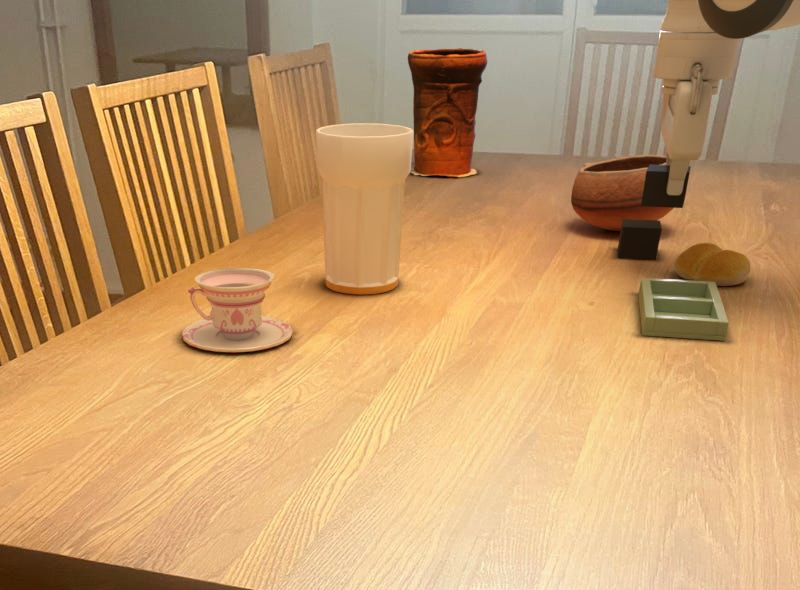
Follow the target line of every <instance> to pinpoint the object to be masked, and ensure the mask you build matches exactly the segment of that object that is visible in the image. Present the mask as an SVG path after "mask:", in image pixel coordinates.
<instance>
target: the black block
mask: <svg viewBox="0 0 800 590" xmlns="http://www.w3.org/2000/svg"><path fill="white" fill-rule="evenodd" d="M662 229H663V228H662V223H661V220H660V219H659V220H636V219H622V225H621V231H619V239H618V244H617V258H618V259H632V260H633V259H634V260H651V261H652V260H653V261H656V260H657V256H658V253H659V252H658V251H659V247H660V241H661V235H662Z"/></svg>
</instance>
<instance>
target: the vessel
mask: <svg viewBox="0 0 800 590" xmlns="http://www.w3.org/2000/svg"><path fill="white" fill-rule="evenodd" d="M407 63H408V67H409V70H410V74H411V75H410V76H411V81H412V86H413V87H412V88H413V98H412V99H413V100H412V101H413V102H412V103H413V104H412V105H413V106H412V107H413V109H412V113H413V114H412V115H413V131H414V134H413V155H414V156H413V157H414V165H413V164H411V172H410V174H413V175H414V176H422V177H428V176H441V177H443V176H444V177H445V176H446V177H448V178H464V177H470V176H473V175H476V174H478V172H477V170H476V169H475V168H472V163H473V153H474V146H475V145H474V144H475V140H476V132H475V131H476V130H475V128H476V124H477V121H476V115H477V111H478V101H479V91H480V90H479V89H480V85H481V84H482V83H483V80H482V75H483V73H484V72H485V70H486V68H487V65H488V56H487V53H486V51H485V50H484V49H481V50H478V49H473V48H461V47H459V48H458V47H457V48H438V49H417V50H416V49H413V50H411V51H409V52H408V54H407Z"/></svg>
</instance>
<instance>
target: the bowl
mask: <svg viewBox="0 0 800 590" xmlns="http://www.w3.org/2000/svg"><path fill="white" fill-rule="evenodd" d="M666 157H667V155H663V154H643V155H641V154H637V155H636V154H635V155H627V156H621V157H617V158H616V157H615V158H613V159H607V160H602V161H601V160H600V161H596V162H593V161H592V162H586V163H584V164H583V166H582V167H581V168H580V169H579V170H578V172H577V173H576V176H575V179H574V182H573V184H572V189H571V195H570V196H571V197H570V203H571V206H572V209H573V212H574V213H576V214H577V215H578V216H579V218H581V219H582V220H583V221H585V222H586V223H588V224H590V225H592V226H594V227H597V228H600V229H603V230H608V231H613V232H620V231H621V225H622V219H636V220H659V221H660V220H661V219H662V218H664V217H666V216H667V215H668V214H669V213H671V211H673V210H674V208H669V207H649V206H641V202H642V195H643V189H644V183H645V177H646V171H647V169H648V167H649V165H666Z"/></svg>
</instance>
